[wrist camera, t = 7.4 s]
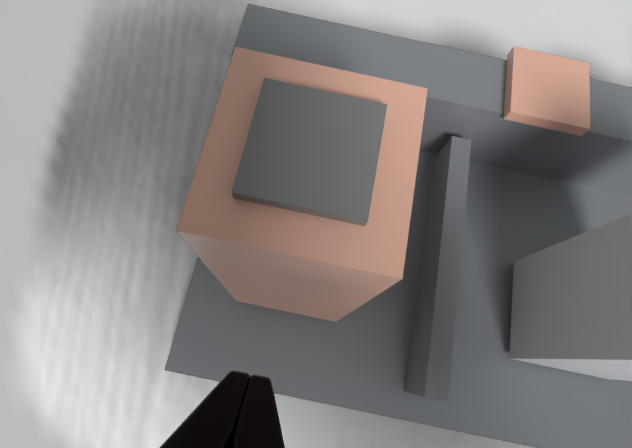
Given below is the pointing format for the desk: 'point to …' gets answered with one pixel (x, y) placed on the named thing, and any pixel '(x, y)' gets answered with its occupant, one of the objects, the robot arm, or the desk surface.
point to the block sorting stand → (446, 247)
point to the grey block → (577, 304)
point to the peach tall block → (305, 185)
